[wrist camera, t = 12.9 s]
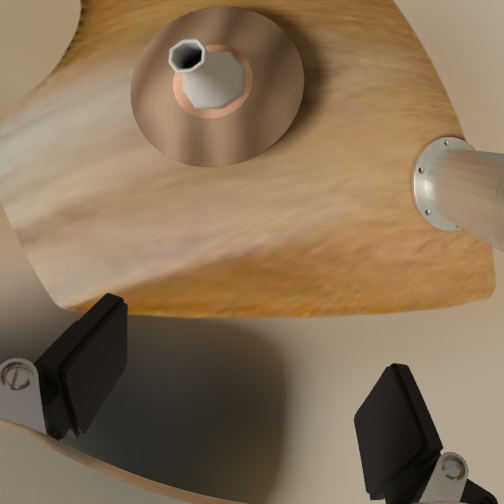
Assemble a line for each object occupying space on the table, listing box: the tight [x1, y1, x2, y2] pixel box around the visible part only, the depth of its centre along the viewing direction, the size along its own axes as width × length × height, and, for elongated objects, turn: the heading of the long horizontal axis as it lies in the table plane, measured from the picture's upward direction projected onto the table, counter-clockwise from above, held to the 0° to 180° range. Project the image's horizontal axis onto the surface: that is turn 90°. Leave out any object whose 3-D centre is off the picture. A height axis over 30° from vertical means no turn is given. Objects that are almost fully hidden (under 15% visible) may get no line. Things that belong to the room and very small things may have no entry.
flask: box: [169, 38, 245, 109], centre depth 24 cm, size 7×7×10 cm
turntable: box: [131, 6, 304, 167], centre depth 29 cm, size 20×20×2 cm
